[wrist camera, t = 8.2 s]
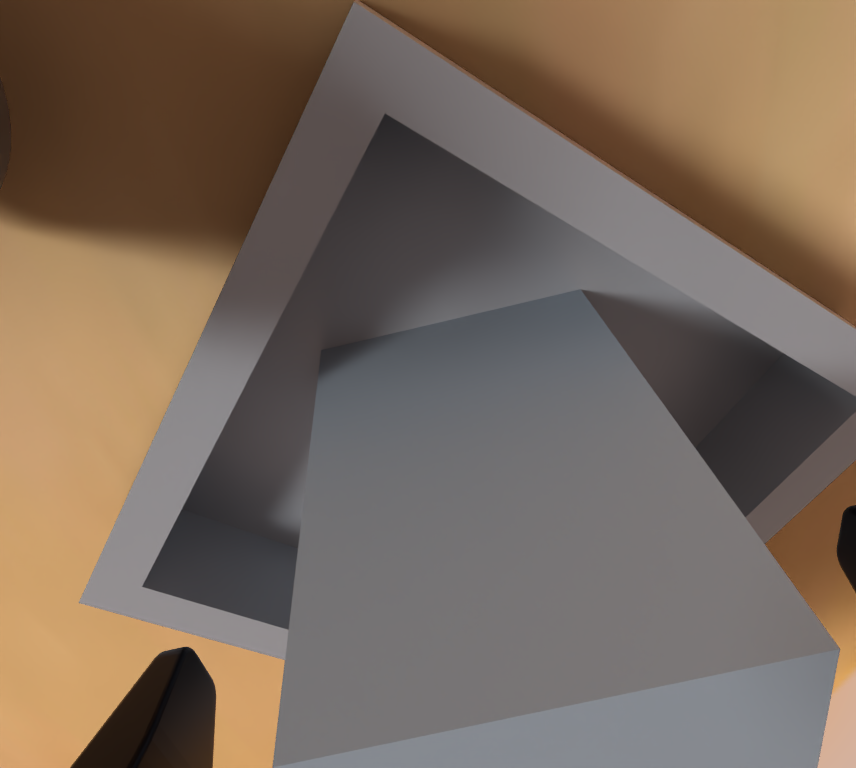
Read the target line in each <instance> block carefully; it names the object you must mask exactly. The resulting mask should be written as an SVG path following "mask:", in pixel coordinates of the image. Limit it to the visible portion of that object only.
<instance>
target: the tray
mask: <svg viewBox="0 0 856 768" xmlns="http://www.w3.org/2000/svg"><path fill="white" fill-rule="evenodd" d="M579 289H581V291H582V292H583V293H584V295H585V296H586V298H587V299H588V300H589V302H590V303H591V305H592V306H593V307H594V309H595V310H596V311H597V313H598V314H599V316H600V317H601V318H602V320H603V321H604V323H605V324H606V325H607V327H608V328H609V330H610V331H611V332H612V334H613V335H614V336H615V338H616V339H617V341H618V342H619V343H620V345H621V346H622V348H623V349H624V350H625V352H626V353H627V354H628V356H629V357H630V359H631V360H632V361H633V363H634V364H635V366H636V367H637V368H638V370H639V371H640V372H641V374H642V375H643V377H644V378H645V379H646V381H647V382H648V384H649V385H650V386H651V388H652V389H653V390H654V392H655V393H656V395H657V396H658V397H659V399H660V400H661V402H662V403H663V404H664V406H665V407H666V408H667V410H668V411H669V413H670V414H671V415H672V417H673V418H674V420H675V421H676V422H677V424H678V425H679V426H680V428H681V429H682V431H683V432H684V433H685V435H686V436H687V438H688V439H689V440H690V442H691V443H692V444H693V446H694V447H695V449H696V450H697V451H698V453H699V454H700V456H701V457H702V458H703V460H704V461H705V463H706V464H707V465H708V467H709V468H710V469H711V471H712V472H713V474H714V475H715V476H716V478H717V479H718V481H719V482H720V483H721V485H722V486H723V487H724V489H725V490H726V492H727V493H728V494H729V496H730V497H731V499H732V500H733V501H734V503H735V504H736V505H737V507H738V508H739V510H740V511H741V512H742V514H743V515H744V517H745V518H746V519H747V521H748V522H749V523H750V525H751V526H752V528H753V529H754V530H755V532H756V533H757V535H758V536H759V537H760V539H761V540H762V541H763V543H764V544H765V543H766V542H767V541H769V540H770V539H771V538H772V537H773V536H774V535H775V534H776V533H777V532H778V531H779V530H780V529H782V528H783V527H784V526H785V525H786V524H787V523H788V522H789V521H790V520H791V519H792V518H794V517H795V516H796V515H797V514H798V513H799V512H800V511H801V510H802V509H803V508H804V507H805V506H807V505H808V504H809V503H810V502H811V501H812V500H813V499H814V498H815V497H816V496H817V495H818V494H820V493H821V492H822V491H823V490H824V489H825V488H826V487H827V486H828V485H829V484H830V483H832V482H833V481H834V480H835V479H836V478H837V477H838V476H839V475H840V474H841V473H842V472H843V471H845V470H846V469H847V468H848V467H849V466H850V465H851V464H852V463H853V462H854V461H855V460H856V326H854V325H853V324H851V323H850V322H848V321H847V320H845V319H844V318H843V317H841V316H840V315H838V314H837V313H835V312H834V311H832V310H831V309H829V308H827V307H826V306H824V305H823V304H821V303H820V302H818V301H817V300H815V299H814V298H812V297H811V296H809V295H808V294H806V293H805V292H803V291H802V290H800V289H799V288H797V287H795V286H794V285H792V284H791V283H789V282H788V281H786V280H785V279H783V278H782V277H780V276H779V275H777V274H776V273H774V272H773V271H771V270H770V269H768V268H766V267H765V266H763V265H762V264H760V263H759V262H757V261H756V260H754V259H753V258H751V257H750V256H748V255H747V254H745V253H744V252H742V251H741V250H739V249H738V248H736V247H734V246H733V245H731V244H730V243H728V242H727V241H725V240H724V239H722V238H721V237H719V236H718V235H716V234H715V233H713V232H712V231H710V230H709V229H707V228H705V227H704V226H702V225H701V224H699V223H698V222H696V221H695V220H693V219H692V218H690V217H689V216H687V215H686V214H684V213H683V212H681V211H680V210H678V209H677V208H675V207H673V206H672V205H670V204H669V203H667V202H666V201H664V200H663V199H661V198H660V197H658V196H657V195H655V194H654V193H652V192H651V191H649V190H648V189H646V188H644V187H643V186H641V185H640V184H638V183H637V182H635V181H634V180H632V179H631V178H629V177H628V176H626V175H625V174H623V173H622V172H620V171H619V170H617V169H616V168H614V167H612V166H611V165H609V164H608V163H606V162H605V161H603V160H602V159H600V158H599V157H597V156H596V155H594V154H593V153H591V152H590V151H588V150H587V149H585V148H583V147H582V146H580V145H579V144H577V143H576V142H574V141H573V140H571V139H570V138H568V137H567V136H565V135H564V134H562V133H561V132H559V131H558V130H556V129H555V128H553V127H551V126H550V125H548V124H547V123H545V122H544V121H542V120H541V119H539V118H538V117H536V116H535V115H533V114H532V113H530V112H529V111H527V110H526V109H524V108H522V107H521V106H519V105H518V104H516V103H515V102H513V101H512V100H510V99H509V98H507V97H506V96H504V95H503V94H501V93H500V92H498V91H497V90H495V89H494V88H492V87H490V86H489V85H487V84H486V83H484V82H483V81H481V80H480V79H478V78H477V77H475V76H474V75H472V74H471V73H469V72H468V71H466V70H465V69H463V68H461V67H460V66H458V65H457V64H455V63H454V62H452V61H451V60H449V59H448V58H446V57H445V56H443V55H442V54H440V53H439V52H437V51H436V50H434V49H433V48H431V47H429V46H428V45H426V44H425V43H423V42H422V41H420V40H419V39H417V38H416V37H414V36H413V35H411V34H410V33H408V32H407V31H405V30H404V29H402V28H400V27H399V26H397V25H396V24H394V23H393V22H391V21H390V20H388V19H387V18H385V17H384V16H382V15H381V14H379V13H378V12H376V11H375V10H373V9H372V8H370V7H368V6H367V5H365V4H364V3H362V2H361V1H359V0H355V1H354V2H353V5H352V7H351V9H350V11H349V13H348V16H347V18H346V20H345V22H344V24H343V27H342V29H341V31H340V33H339V35H338V37H337V40H336V42H335V44H334V46H333V48H332V51H331V53H330V55H329V57H328V59H327V61H326V64H325V66H324V68H323V70H322V72H321V75H320V77H319V79H318V81H317V83H316V86H315V88H314V90H313V92H312V94H311V96H310V99H309V101H308V103H307V105H306V107H305V110H304V112H303V114H302V116H301V118H300V120H299V123H298V125H297V127H296V129H295V131H294V134H293V136H292V138H291V140H290V142H289V145H288V147H287V149H286V151H285V153H284V155H283V158H282V160H281V162H280V164H279V166H278V169H277V171H276V173H275V175H274V177H273V179H272V182H271V184H270V186H269V188H268V190H267V193H266V195H265V197H264V199H263V201H262V204H261V206H260V208H259V210H258V212H257V214H256V217H255V219H254V221H253V223H252V225H251V228H250V230H249V232H248V234H247V236H246V238H245V241H244V243H243V245H242V247H241V249H240V252H239V254H238V256H237V258H236V260H235V263H234V265H233V267H232V269H231V271H230V273H229V276H228V278H227V280H226V282H225V284H224V287H223V289H222V291H221V293H220V295H219V297H218V300H217V302H216V304H215V306H214V308H213V311H212V313H211V315H210V317H209V319H208V322H207V324H206V326H205V328H204V330H203V332H202V335H201V337H200V339H199V341H198V343H197V346H196V348H195V350H194V352H193V354H192V356H191V359H190V361H189V363H188V365H187V367H186V370H185V372H184V374H183V376H182V378H181V381H180V383H179V385H178V387H177V389H176V391H175V394H174V396H173V398H172V400H171V402H170V405H169V407H168V409H167V411H166V413H165V415H164V418H163V420H162V422H161V424H160V426H159V429H158V431H157V433H156V435H155V437H154V440H153V442H152V444H151V446H150V448H149V450H148V453H147V455H146V457H145V459H144V461H143V464H142V466H141V468H140V470H139V472H138V474H137V477H136V479H135V481H134V483H133V485H132V488H131V490H130V492H129V494H128V496H127V499H126V501H125V503H124V505H123V507H122V509H121V512H120V514H119V516H118V518H117V520H116V523H115V525H114V527H113V529H112V531H111V533H110V536H109V538H108V540H107V542H106V544H105V547H104V549H103V551H102V553H101V555H100V558H99V560H98V562H97V564H96V566H95V568H94V571H93V573H92V575H91V577H90V579H89V582H88V584H87V586H86V588H85V590H84V592H83V595H82V597H81V599H80V601H79V603H81V604H85V605H88V606H92V607H95V608H99V609H103V610H106V611H110V612H113V613H117V614H121V615H124V616H128V617H131V618H135V619H139V620H142V621H146V622H150V623H153V624H157V625H160V626H164V627H168V628H171V629H175V630H178V631H182V632H186V633H189V634H193V635H196V636H200V637H204V638H207V639H211V640H215V641H218V642H222V643H225V644H229V645H233V646H236V647H240V648H243V649H247V650H251V651H254V652H258V653H261V654H265V655H269V656H272V657H276V658H280V659H283V660H285V656H286V648H287V639H288V631H289V622H290V614H291V605H292V596H293V588H294V579H295V571H296V562H297V553H298V545H299V536H300V528H301V519H302V510H303V502H304V493H305V485H306V476H307V468H308V459H309V450H310V442H311V433H312V425H313V416H314V407H315V399H316V390H317V382H318V373H319V364H320V356H321V350H324V349H328V348H332V347H336V346H341V345H345V344H349V343H353V342H358V341H362V340H366V339H371V338H375V337H379V336H383V335H388V334H392V333H396V332H400V331H405V330H409V329H413V328H417V327H422V326H426V325H430V324H434V323H439V322H443V321H447V320H452V319H456V318H460V317H464V316H469V315H473V314H477V313H481V312H486V311H490V310H494V309H498V308H503V307H507V306H511V305H516V304H520V303H524V302H528V301H533V300H537V299H541V298H545V297H550V296H554V295H558V294H562V293H567V292H571V291H575V290H579Z"/></svg>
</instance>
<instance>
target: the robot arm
mask: <svg viewBox="0 0 856 768" xmlns="http://www.w3.org/2000/svg"><path fill="white" fill-rule="evenodd" d="M837 557H838V561H839V563H840V566H841V568H842V570H843V571H844V573H845V575H846V577H847V578H848V580H849V582H850V583H851V585H852V587H853V589H854V590H855V592H856V505H854V506H850V507H848V508H847V509H846V510H845V511H844V513H843V516H842V522H841V527H840V533H839V539H838V544H837ZM215 710H216V690H215V685H214V682H213V680H212V678H211V676H210V675H209V673H208V672H207V670H206V668H205V667H204V665H203V664H202V662H201V661H200V659H199V657H198V656H197V654H196V653H195V651H194V650H193V649H191V648H189V647H182V648H177V649H173V650H168V651H164V652H162V653H160V654H159V655H158V656H157V657H156V658H155V659H154V660H153V661H152V662H151V664H150V665H149V666H148V668H147V669H146V670H145V672H144V673H143V674H142V675H141V677H140V678H139V679H138V681H137V682H136V683H135V684H134V686H133V687H132V688H131V690H130V691H129V692H128V694H127V695H126V696H125V697H124V699H123V700H122V701H121V703H120V704H119V705H118V706H117V708H116V709H115V710H114V712H113V713H112V714H111V716H110V717H109V718H108V719H107V721H106V722H105V723H104V725H103V726H102V727H101V728H100V730H99V731H98V732H97V734H96V735H95V736H94V737H93V739H92V740H91V741H90V743H89V744H88V745H87V747H86V748H85V749H84V750H83V752H82V753H81V754H80V756H79V757H78V758H77V759H76V761H75V762H74V763H73V765H72V766H71V767H70V768H213V749H214V729H215Z"/></svg>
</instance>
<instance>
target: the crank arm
mask: <svg viewBox="0 0 856 768" xmlns="http://www.w3.org/2000/svg"><path fill="white" fill-rule="evenodd" d="M10 151H11V125H10V117H9V108H8V103H7V99H6V96H5V92H4V88H3V84H2V81H1V78H0V189H1V187H2V184H3V181H4V178H5V175H6V172H7V169H8V163H9V157H10Z"/></svg>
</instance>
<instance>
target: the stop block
mask: <svg viewBox="0 0 856 768" xmlns="http://www.w3.org/2000/svg"><path fill="white" fill-rule="evenodd" d="M839 652H840V648H839V647H838V645H837V644H836V643H835V641H834V640H833V638H832V637H831V636H830V634H829V633H828V632H827V630H826V629H825V627H824V626H823V625H822V623H821V622H820V620H819V619H818V618H817V616H816V615H815V614H814V612H813V611H812V609H811V608H810V607H809V605H808V604H807V602H806V601H805V600H804V598H803V597H802V596H801V594H800V593H799V591H798V590H797V589H796V587H795V586H794V584H793V583H792V582H791V580H790V579H789V577H788V576H787V575H786V573H785V572H784V571H783V569H782V568H781V566H780V565H779V564H778V562H777V561H776V559H775V558H774V557H773V555H772V554H771V553H770V551H769V550H768V548H767V547H766V546H765V544H764V543H763V541H762V540H761V539H760V537H759V536H758V535H757V533H756V532H755V530H754V529H753V528H752V526H751V525H750V523H749V522H748V521H747V519H746V518H745V517H744V515H743V514H742V512H741V511H740V510H739V508H738V507H737V505H736V504H735V503H734V501H733V500H732V499H731V497H730V496H729V494H728V493H727V492H726V490H725V489H724V487H723V486H722V485H721V483H720V482H719V481H718V479H717V478H716V476H715V475H714V474H713V472H712V471H711V469H710V468H709V467H708V465H707V464H706V463H705V461H704V460H703V458H702V457H701V456H700V454H699V453H698V451H697V450H696V449H695V447H694V446H693V444H692V443H691V442H690V440H689V439H688V438H687V436H686V435H685V433H684V432H683V431H682V429H681V428H680V426H679V425H678V424H677V422H676V421H675V420H674V418H673V417H672V415H671V414H670V413H669V411H668V410H667V408H666V407H665V406H664V404H663V403H662V402H661V400H660V399H659V397H658V396H657V395H656V393H655V392H654V390H653V389H652V388H651V386H650V385H649V384H648V382H647V381H646V379H645V378H644V377H643V375H642V374H641V372H640V371H639V370H638V368H637V367H636V366H635V364H634V363H633V361H632V360H631V359H630V357H629V356H628V354H627V353H626V352H625V350H624V349H623V348H622V346H621V345H620V343H619V342H618V341H617V339H616V338H615V336H614V335H613V334H612V332H611V331H610V330H609V328H608V327H607V325H606V324H605V323H604V321H603V320H602V318H601V317H600V316H599V314H598V313H597V311H596V310H595V309H594V307H593V306H592V305H591V303H590V302H589V300H588V299H587V298H586V296H585V295H584V293H583V292H582V291H581V289H579V290H575V291H571V292H567V293H562V294H558V295H554V296H550V297H545V298H541V299H537V300H533V301H528V302H524V303H520V304H516V305H511V306H507V307H503V308H498V309H494V310H490V311H486V312H481V313H477V314H473V315H469V316H464V317H460V318H456V319H452V320H447V321H443V322H439V323H434V324H430V325H426V326H422V327H417V328H413V329H409V330H405V331H400V332H396V333H392V334H388V335H383V336H379V337H375V338H371V339H366V340H362V341H358V342H353V343H349V344H345V345H341V346H336V347H332V348H328V349H324V350H321V356H320V364H319V373H318V382H317V390H316V399H315V407H314V416H313V425H312V433H311V442H310V450H309V459H308V468H307V476H306V485H305V493H304V502H303V510H302V519H301V528H300V536H299V545H298V553H297V562H296V571H295V579H294V588H293V596H292V605H291V614H290V622H289V631H288V639H287V648H286V656H285V665H284V674H283V682H282V691H281V699H280V708H279V717H278V725H277V734H276V742H275V751H274V760H273V768H817V766H818V762H819V757H820V751H821V746H822V741H823V735H824V730H825V725H826V720H827V715H828V710H829V704H830V699H831V694H832V689H833V683H834V678H835V673H836V668H837V663H838V657H839Z"/></svg>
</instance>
